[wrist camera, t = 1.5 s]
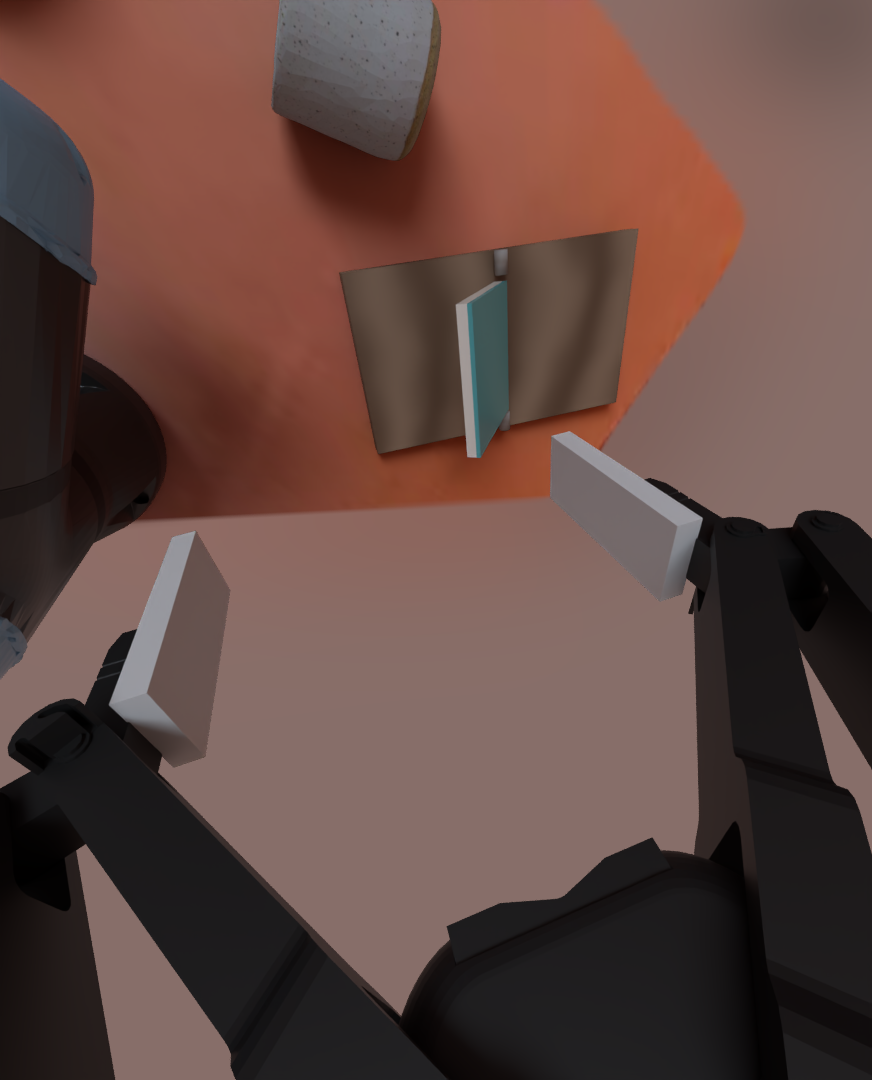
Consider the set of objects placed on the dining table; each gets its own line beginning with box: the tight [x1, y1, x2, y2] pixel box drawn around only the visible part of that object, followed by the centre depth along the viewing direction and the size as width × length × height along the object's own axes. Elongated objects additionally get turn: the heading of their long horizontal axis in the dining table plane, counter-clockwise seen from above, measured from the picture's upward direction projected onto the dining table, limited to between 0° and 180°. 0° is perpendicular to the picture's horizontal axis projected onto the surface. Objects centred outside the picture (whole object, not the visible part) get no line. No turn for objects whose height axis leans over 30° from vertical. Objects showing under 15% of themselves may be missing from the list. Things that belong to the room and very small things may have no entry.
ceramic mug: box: [271, 0, 441, 161], centre depth 23 cm, size 11×8×8 cm
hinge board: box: [339, 229, 638, 454], centre depth 37 cm, size 24×14×2 cm, turn 97°
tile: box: [456, 281, 509, 458], centre depth 32 cm, size 10×10×1 cm
